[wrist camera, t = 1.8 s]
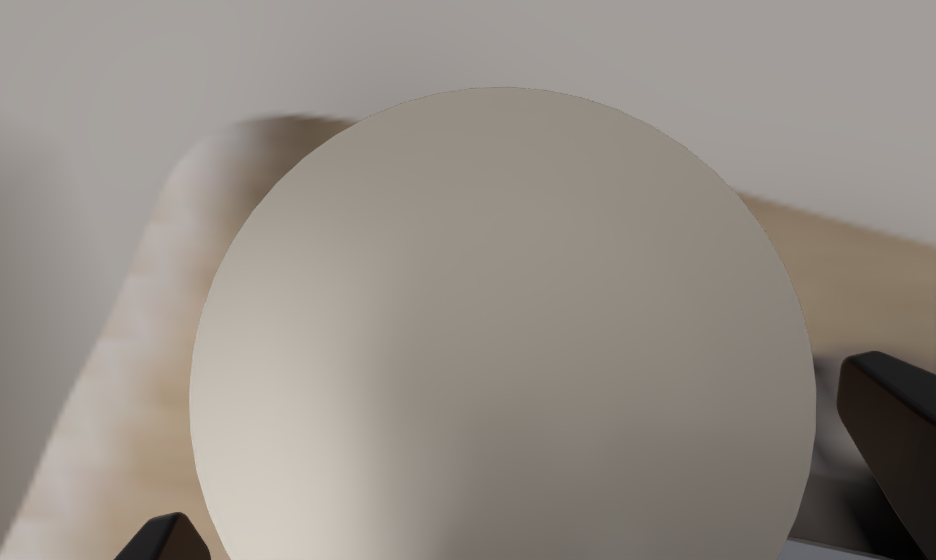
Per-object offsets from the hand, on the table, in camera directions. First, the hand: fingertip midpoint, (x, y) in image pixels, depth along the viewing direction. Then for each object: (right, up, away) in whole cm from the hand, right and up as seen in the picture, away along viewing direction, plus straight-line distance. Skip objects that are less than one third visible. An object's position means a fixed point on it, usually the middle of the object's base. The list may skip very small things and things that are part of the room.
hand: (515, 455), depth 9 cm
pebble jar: (0, -1, +9) cm, 9 cm away
